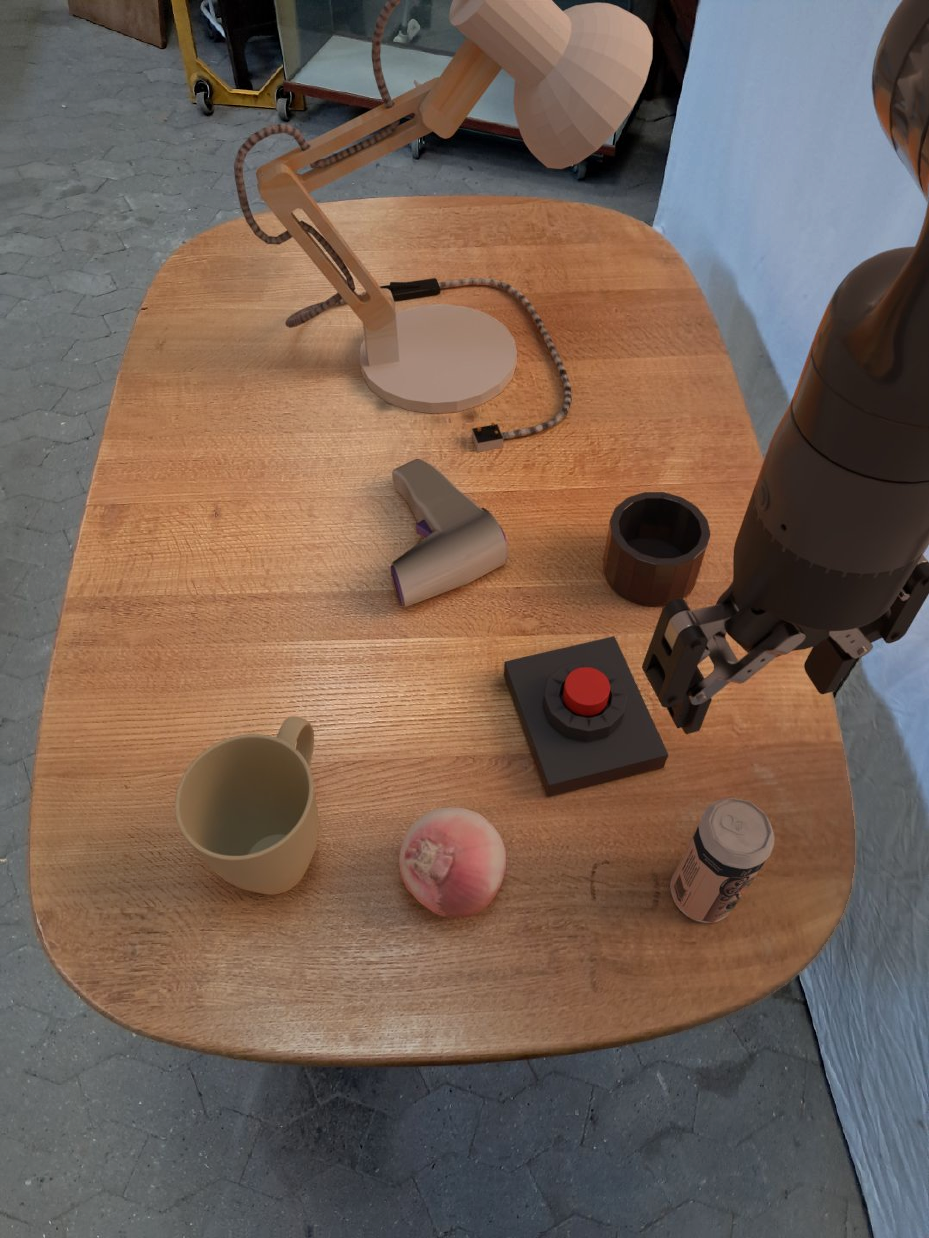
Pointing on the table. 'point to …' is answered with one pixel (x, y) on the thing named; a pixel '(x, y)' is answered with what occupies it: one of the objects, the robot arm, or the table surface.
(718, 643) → the robot arm
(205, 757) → the mug
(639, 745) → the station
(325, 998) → the table surface
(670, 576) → the holder
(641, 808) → the table surface
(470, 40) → the desk lamp
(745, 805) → the beer can
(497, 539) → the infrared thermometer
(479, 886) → the onion
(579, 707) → the button
